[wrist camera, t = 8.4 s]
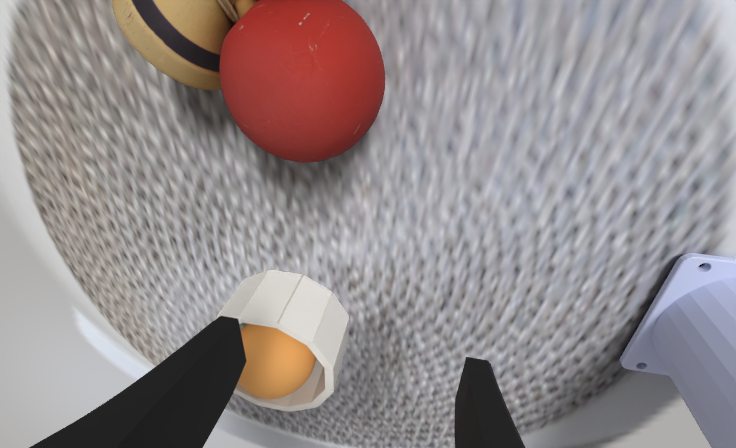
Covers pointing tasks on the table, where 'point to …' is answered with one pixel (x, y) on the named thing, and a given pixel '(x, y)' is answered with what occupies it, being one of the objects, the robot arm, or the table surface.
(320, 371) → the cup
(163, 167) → the table surface
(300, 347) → the ball
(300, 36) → the kendama
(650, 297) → the table surface
